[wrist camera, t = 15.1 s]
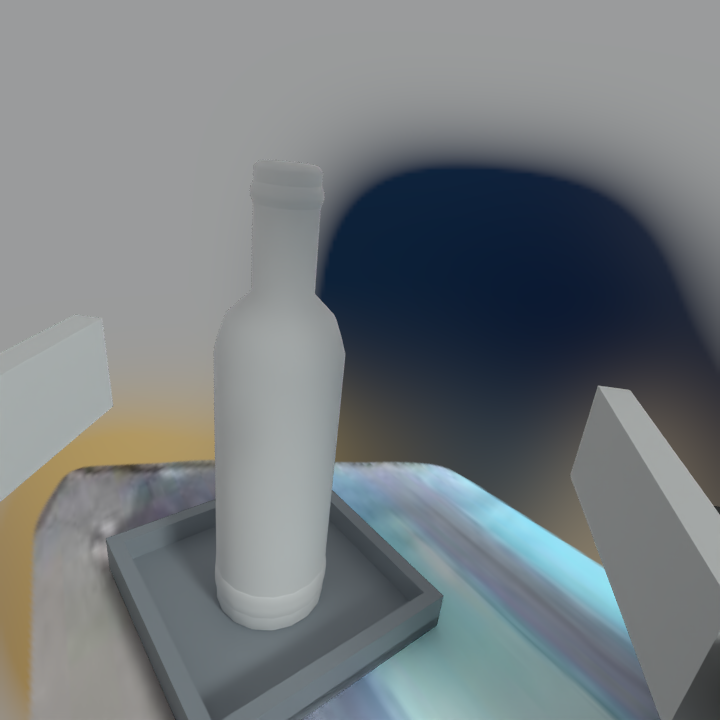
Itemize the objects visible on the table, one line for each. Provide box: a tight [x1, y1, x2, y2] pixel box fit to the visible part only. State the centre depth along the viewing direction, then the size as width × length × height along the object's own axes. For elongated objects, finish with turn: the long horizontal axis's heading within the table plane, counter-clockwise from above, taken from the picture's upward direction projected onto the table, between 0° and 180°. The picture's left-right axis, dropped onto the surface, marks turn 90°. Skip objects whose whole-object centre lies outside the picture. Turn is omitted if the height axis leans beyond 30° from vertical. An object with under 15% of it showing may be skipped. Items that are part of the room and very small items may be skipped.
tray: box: [106, 490, 443, 720], centre depth 39 cm, size 18×18×3 cm
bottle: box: [214, 160, 345, 631], centre depth 33 cm, size 8×8×30 cm
